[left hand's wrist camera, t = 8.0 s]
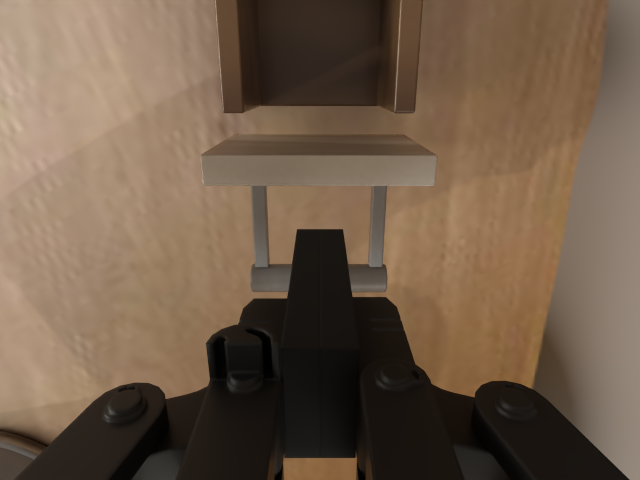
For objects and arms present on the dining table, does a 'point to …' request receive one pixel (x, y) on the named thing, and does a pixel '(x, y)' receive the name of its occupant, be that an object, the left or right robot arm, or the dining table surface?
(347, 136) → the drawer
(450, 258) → the dining table surface
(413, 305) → the dining table surface
